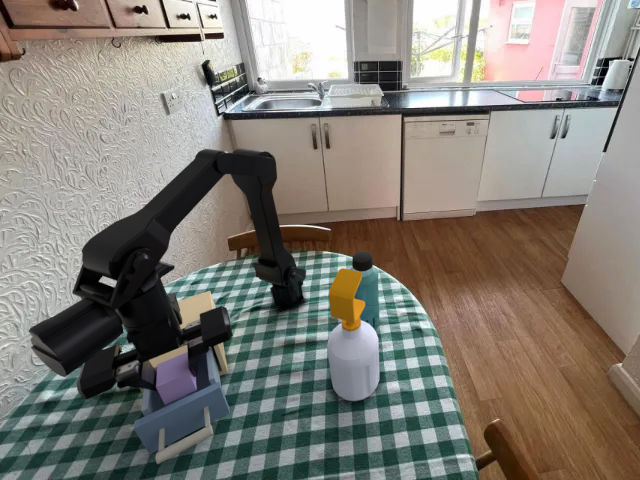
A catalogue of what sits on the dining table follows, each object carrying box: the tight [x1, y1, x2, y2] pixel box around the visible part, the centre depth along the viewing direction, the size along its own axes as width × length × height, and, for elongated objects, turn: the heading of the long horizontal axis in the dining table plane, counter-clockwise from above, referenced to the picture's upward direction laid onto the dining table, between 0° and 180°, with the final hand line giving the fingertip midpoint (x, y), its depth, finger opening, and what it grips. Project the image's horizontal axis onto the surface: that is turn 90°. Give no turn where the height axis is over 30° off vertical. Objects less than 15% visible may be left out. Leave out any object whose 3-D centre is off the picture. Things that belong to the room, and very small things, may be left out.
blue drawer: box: [133, 346, 230, 465], centre depth 53 cm, size 19×11×7 cm, turn 31°
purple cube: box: [156, 352, 197, 405], centre depth 51 cm, size 4×4×4 cm
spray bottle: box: [326, 267, 380, 402], centre depth 54 cm, size 9×9×25 cm
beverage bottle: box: [349, 250, 381, 332], centre depth 65 cm, size 6×7×20 cm
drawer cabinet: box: [139, 290, 229, 395], centre depth 62 cm, size 16×13×9 cm
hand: (179, 381), depth 51 cm, fingers closed on purple cube, 4 cm apart
